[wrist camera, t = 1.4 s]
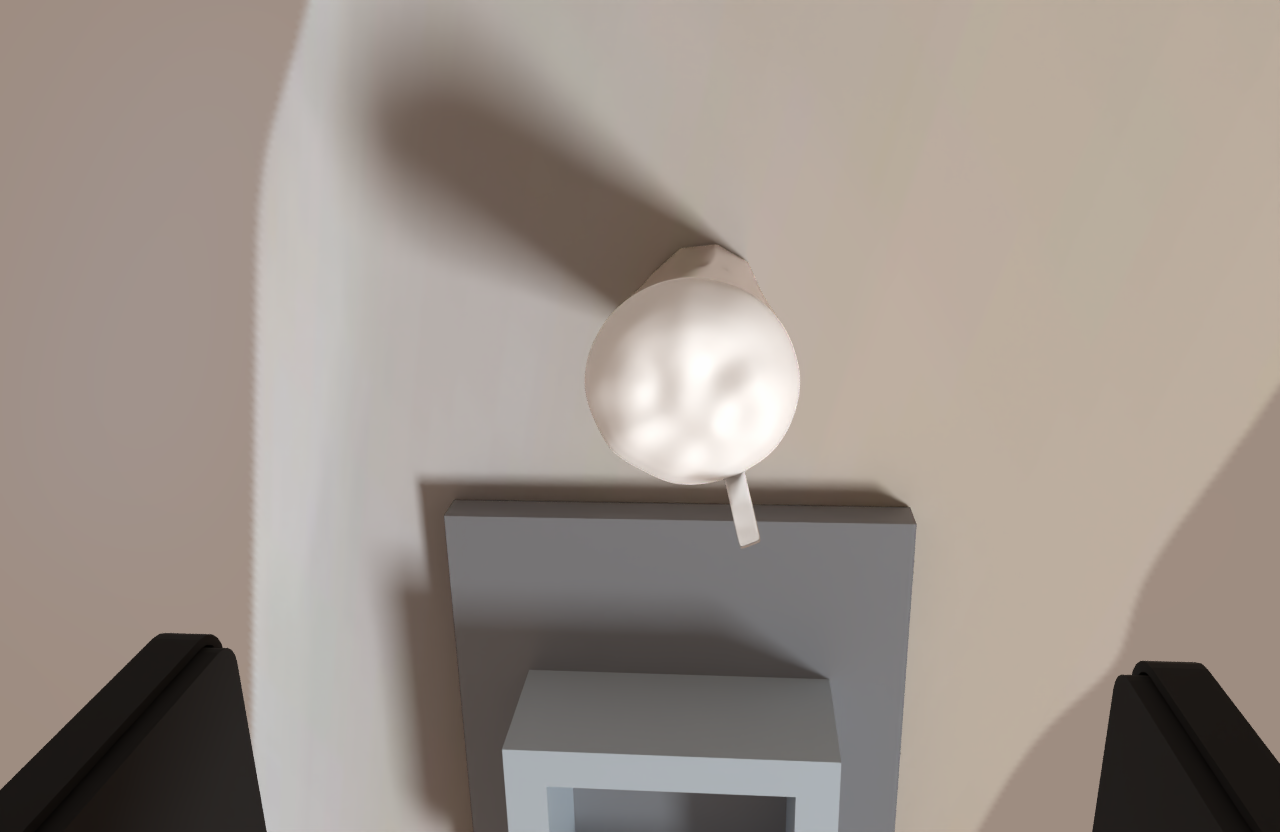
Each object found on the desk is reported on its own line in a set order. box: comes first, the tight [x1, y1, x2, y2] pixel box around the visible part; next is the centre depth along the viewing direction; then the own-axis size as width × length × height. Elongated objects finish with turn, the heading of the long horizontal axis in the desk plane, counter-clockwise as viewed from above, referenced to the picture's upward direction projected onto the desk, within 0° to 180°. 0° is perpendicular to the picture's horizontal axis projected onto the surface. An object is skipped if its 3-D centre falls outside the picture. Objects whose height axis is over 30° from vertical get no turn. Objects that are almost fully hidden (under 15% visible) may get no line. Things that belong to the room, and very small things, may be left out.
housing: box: [444, 500, 917, 832], centre depth 33 cm, size 20×14×5 cm
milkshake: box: [585, 244, 800, 549], centre depth 25 cm, size 5×5×10 cm
